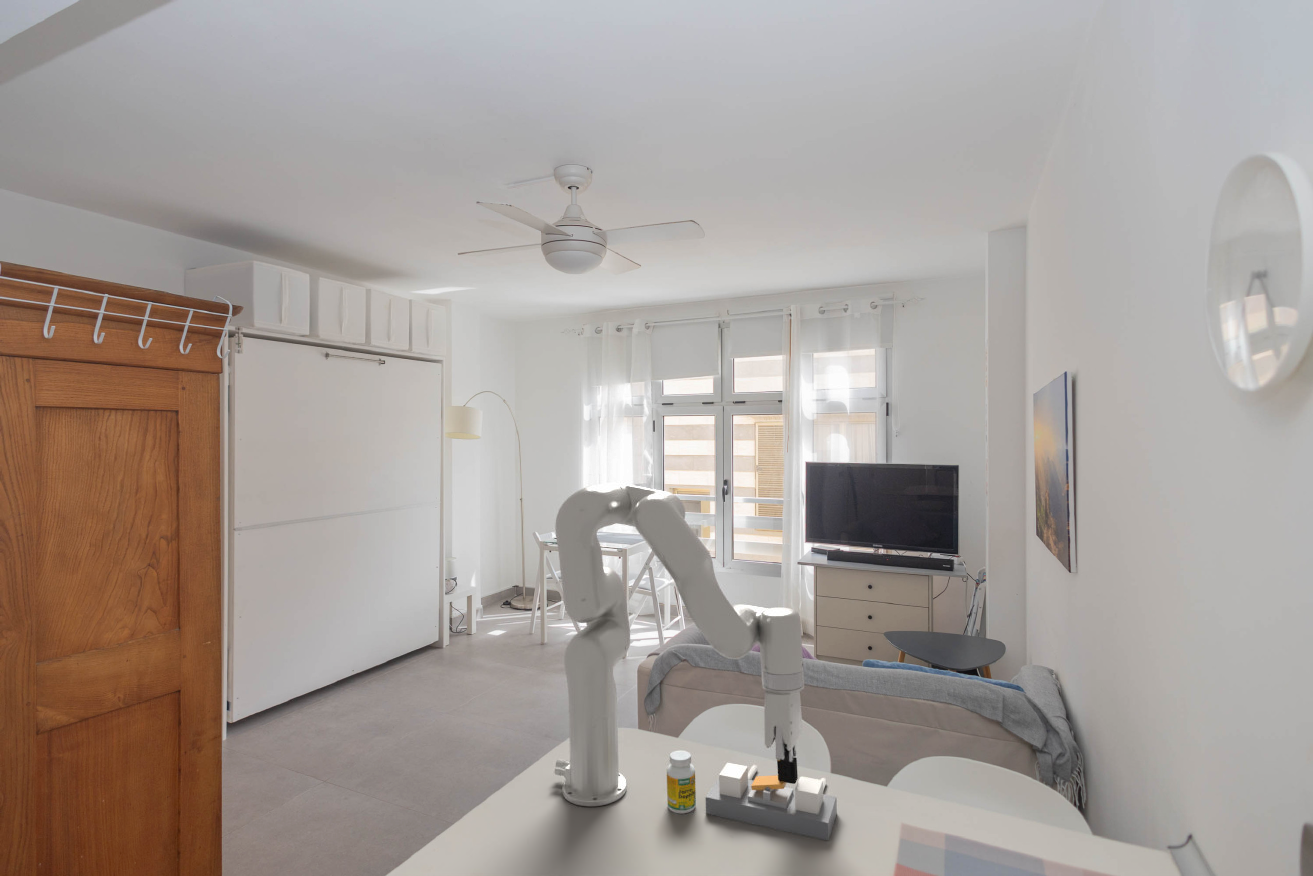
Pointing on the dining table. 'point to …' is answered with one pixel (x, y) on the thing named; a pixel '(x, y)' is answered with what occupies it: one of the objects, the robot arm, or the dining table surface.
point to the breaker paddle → (767, 783)
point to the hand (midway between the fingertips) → (788, 780)
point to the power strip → (773, 803)
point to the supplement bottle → (681, 783)
